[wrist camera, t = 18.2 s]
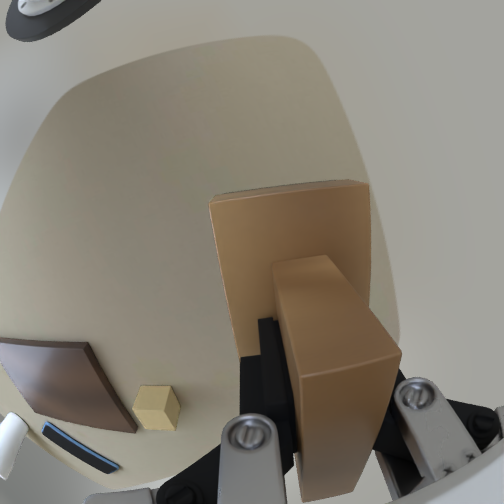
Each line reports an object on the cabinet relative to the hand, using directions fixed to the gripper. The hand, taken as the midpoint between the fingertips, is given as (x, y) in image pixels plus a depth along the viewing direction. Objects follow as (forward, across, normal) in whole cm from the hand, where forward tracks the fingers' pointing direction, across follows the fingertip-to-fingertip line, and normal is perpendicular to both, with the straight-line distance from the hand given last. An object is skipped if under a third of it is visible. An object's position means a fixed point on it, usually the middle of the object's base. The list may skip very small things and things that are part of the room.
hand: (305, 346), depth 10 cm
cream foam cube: (+11, +13, +14) cm, 23 cm away
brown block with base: (+3, 0, 0) cm, 3 cm away
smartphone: (+11, +37, +32) cm, 50 cm away
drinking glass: (+11, +52, +28) cm, 60 cm away
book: (+11, +29, +14) cm, 34 cm away
